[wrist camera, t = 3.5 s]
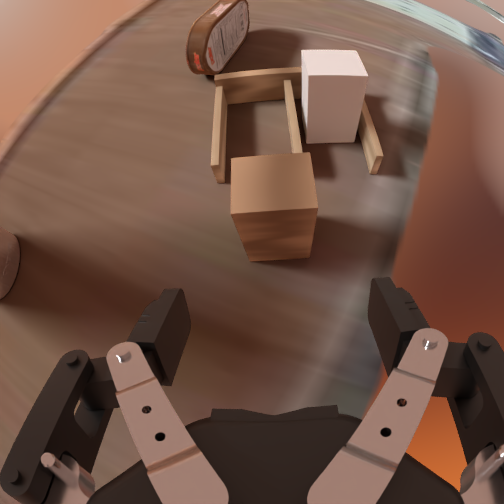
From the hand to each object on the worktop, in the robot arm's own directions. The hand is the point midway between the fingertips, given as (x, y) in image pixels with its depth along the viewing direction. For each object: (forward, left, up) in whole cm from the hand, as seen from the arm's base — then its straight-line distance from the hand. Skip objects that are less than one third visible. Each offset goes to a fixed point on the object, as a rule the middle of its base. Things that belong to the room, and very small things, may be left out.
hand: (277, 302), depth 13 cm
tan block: (0, +8, -12) cm, 14 cm away
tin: (-5, +36, -12) cm, 38 cm away
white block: (+6, +20, -12) cm, 24 cm away
